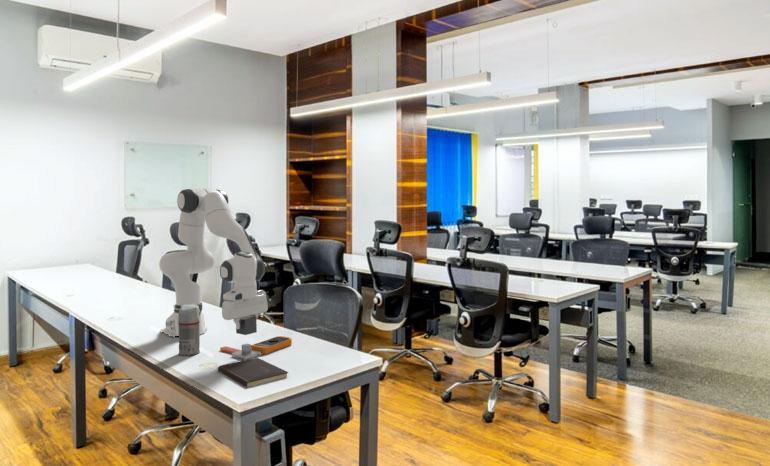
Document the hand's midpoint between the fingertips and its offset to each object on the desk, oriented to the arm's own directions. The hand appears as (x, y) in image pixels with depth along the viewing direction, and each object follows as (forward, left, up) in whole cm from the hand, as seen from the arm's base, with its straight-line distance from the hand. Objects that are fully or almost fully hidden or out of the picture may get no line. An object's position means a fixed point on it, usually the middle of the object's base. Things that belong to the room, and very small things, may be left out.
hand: (246, 327), depth 209 cm
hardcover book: (+19, -13, -13) cm, 26 cm away
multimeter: (0, +14, -12) cm, 19 cm away
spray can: (-22, -11, -12) cm, 28 cm away
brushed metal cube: (0, 0, -2) cm, 2 cm away
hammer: (-6, 0, -12) cm, 13 cm away
